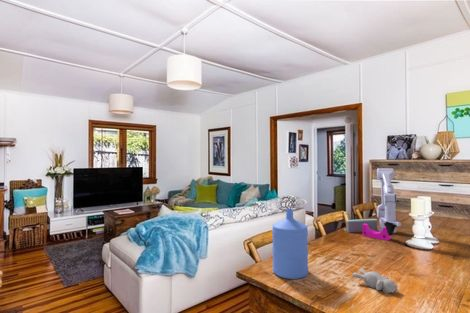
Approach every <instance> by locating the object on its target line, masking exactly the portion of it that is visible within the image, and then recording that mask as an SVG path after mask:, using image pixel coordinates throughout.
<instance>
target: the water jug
mask: <svg viewBox="0 0 470 313" xmlns="http://www.w3.org/2000/svg"><path fill="white" fill-rule="evenodd" d="M285 211H286V212H285V215H286V216H285V218H284V219H282V220H279V221H277V222H275V223H273V224H272V229H271V230H272V232H271V233H272V249H271V250H272V272H273V273H274V275H275V276H278V277H280V278H283V279H288V280H298V279H303V278H305V277H306V276H308V274H309V264H308V263H309V259H308V258H309V249H308V247H309V246H308V243H309V242H308V236H309V233H308V232H309V231H308V226H307V225H306V224H305V223H302V222H301V221H298V220H297V219H295V218H294V209H292V208H287V209H285Z"/></svg>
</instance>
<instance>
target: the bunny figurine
mask: <svg viewBox="0 0 470 313" xmlns="http://www.w3.org/2000/svg"><path fill="white" fill-rule="evenodd" d="M358 271H359V273H358V272H353V273H352V277H353V278H355V279H356V278H357V279H362V280H363V281H364V283H365V285H366V286H368V287H369V288H372V289H375V290H376V291H382V292H383V293H385V294H391V293H393V294H394V293H395V292H396V291H398V285H397V284H396V283H395V281H394V280H392V279H390V278H389V277H388V276H383V275H382V274H381V273H379V272H377V271H374V270H372V271H366V270H365V269H362V268H360V269H359V270H358Z"/></svg>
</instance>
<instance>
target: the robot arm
mask: <svg viewBox="0 0 470 313" xmlns="http://www.w3.org/2000/svg"><path fill="white" fill-rule="evenodd" d="M394 177H395V169H394V168H393V167H392V168H390V167H389V168H387V167H385V168H383V167H382V168H381V167H380V168H379V167H378V168H377V169H376V178H377V181H380V189H381V190H380V191H381V192H380V193H381V194H380V195H381V204H379V205H378V206H377V208H376V216H377V218H379V219H378V220H379V229H378V228H377V232H382V230H383V228H384V227H386V229H387V232H388V235H390V236H391V237H392V236H393V235H394V233H395V234H396V233H397V230H396V227H401V226H402V223H401V222H400V221H398V220H396V218H397V217H396V215H397V214H396V206H397V205H396V203H397V200H398V199H397V193H396V192H395V187H394V185H393V184H392V181H393V179H394Z"/></svg>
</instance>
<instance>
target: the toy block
mask: <svg viewBox="0 0 470 313" xmlns="http://www.w3.org/2000/svg"><path fill="white" fill-rule="evenodd" d="M362 237H367V238H372V239H377V240H382V241H388V242H389V241H391V239H392V235H391V236H390V235H388V232H387V229H386V227H384V228H383V230H382V232H380V231H374V230H373V231H372V230H371V229H370V228H369V226H368V224H363V232H362Z"/></svg>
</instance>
